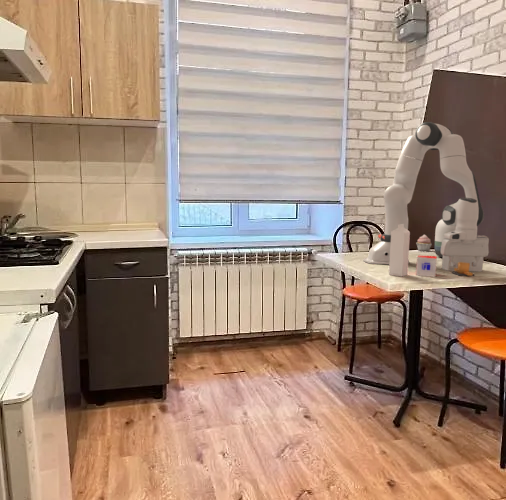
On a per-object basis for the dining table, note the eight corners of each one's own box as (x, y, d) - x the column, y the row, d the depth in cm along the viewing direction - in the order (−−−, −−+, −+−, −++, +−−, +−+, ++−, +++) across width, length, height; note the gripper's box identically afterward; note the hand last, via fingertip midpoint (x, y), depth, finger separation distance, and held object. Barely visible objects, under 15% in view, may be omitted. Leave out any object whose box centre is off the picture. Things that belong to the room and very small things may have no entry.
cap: (450, 270, 225) (451, 260, 225) (461, 270, 226) (461, 260, 225) (465, 275, 213) (466, 265, 212) (475, 275, 213) (476, 265, 213)
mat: (458, 275, 216) (458, 274, 216) (451, 272, 223) (451, 271, 222) (474, 275, 216) (474, 274, 216) (467, 273, 223) (467, 271, 223)
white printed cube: (435, 273, 220) (436, 256, 219) (435, 276, 213) (436, 258, 212) (416, 272, 223) (417, 255, 222) (415, 275, 215) (416, 257, 214)
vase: (470, 260, 262) (473, 215, 258) (436, 259, 265) (439, 214, 261) (462, 256, 278) (466, 213, 275) (431, 255, 281) (434, 212, 278)
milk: (407, 275, 216) (411, 224, 213) (401, 276, 211) (405, 225, 208) (394, 273, 219) (397, 223, 216) (388, 274, 215) (391, 224, 212)
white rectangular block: (448, 270, 228) (449, 248, 226) (441, 268, 234) (443, 246, 233) (482, 271, 228) (484, 248, 227) (474, 268, 235) (476, 247, 234)
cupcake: (421, 249, 305) (422, 233, 304) (434, 251, 298) (436, 234, 296) (412, 250, 300) (413, 234, 299) (425, 252, 292) (426, 235, 291)
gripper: (485, 234, 220) (483, 265, 222) (440, 234, 220) (438, 264, 222) (492, 236, 214) (490, 267, 216) (446, 235, 213) (444, 267, 215)
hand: (463, 266), depth 219 cm, fingers open, 8 cm apart
